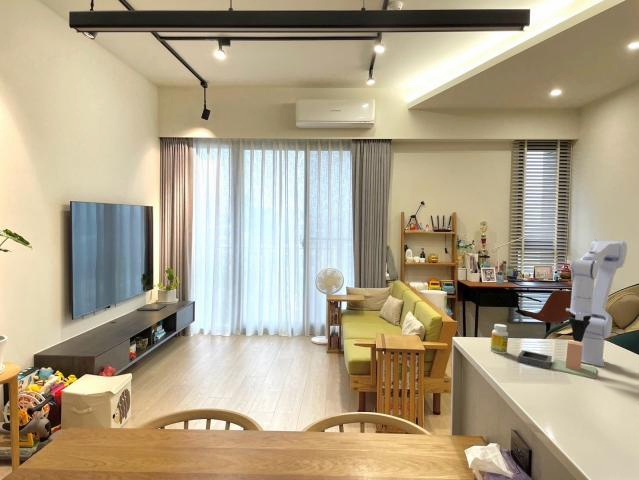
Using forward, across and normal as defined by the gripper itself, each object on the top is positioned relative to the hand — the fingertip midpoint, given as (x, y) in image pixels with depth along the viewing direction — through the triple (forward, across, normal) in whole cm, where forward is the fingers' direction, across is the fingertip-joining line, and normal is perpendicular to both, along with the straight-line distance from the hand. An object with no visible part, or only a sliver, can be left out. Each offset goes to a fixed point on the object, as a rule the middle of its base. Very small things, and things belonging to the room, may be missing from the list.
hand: (578, 338), depth 129 cm
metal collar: (+10, +2, -11) cm, 15 cm away
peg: (+10, 0, -1) cm, 10 cm away
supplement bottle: (+10, -1, -23) cm, 25 cm away
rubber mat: (+10, 0, 0) cm, 10 cm away
